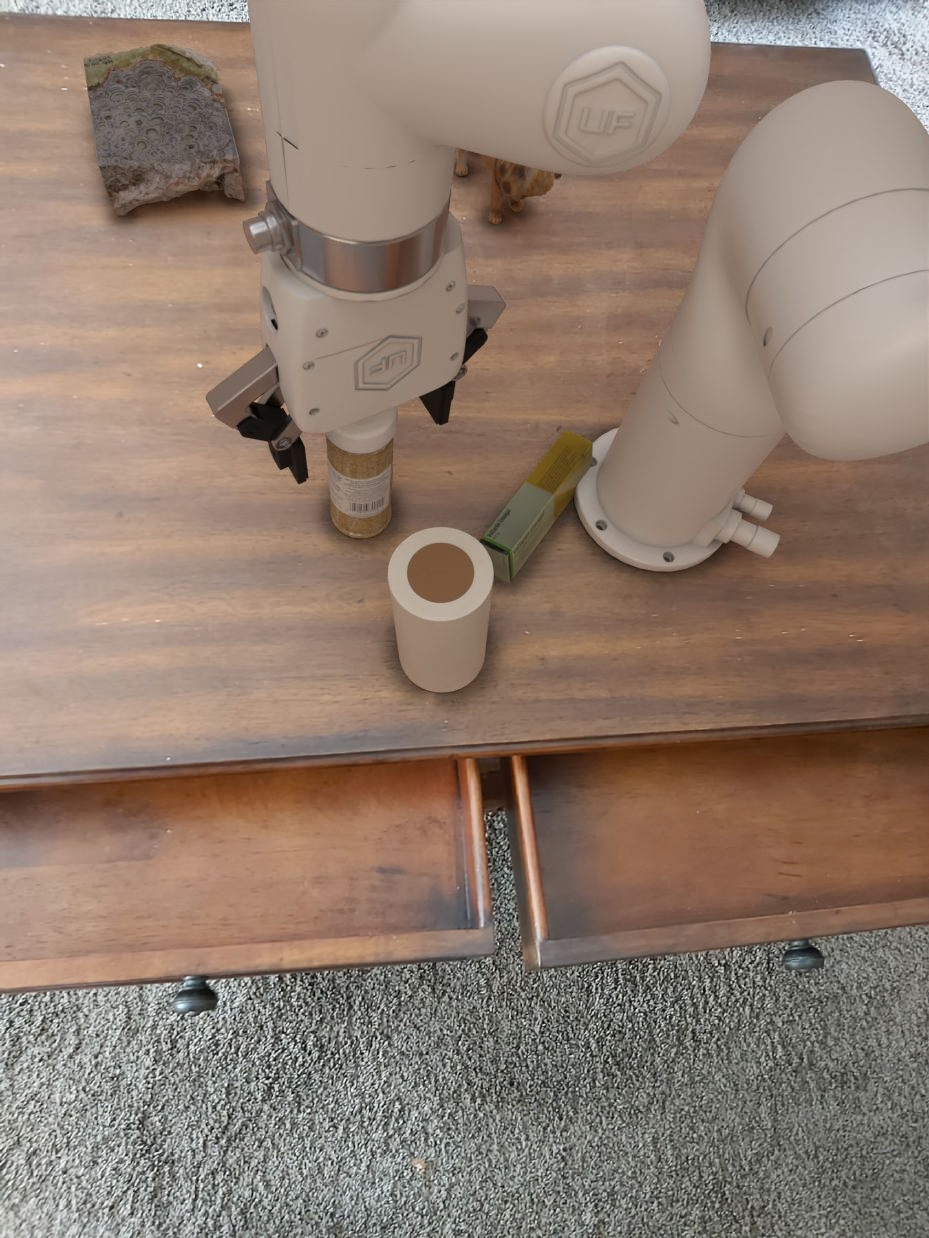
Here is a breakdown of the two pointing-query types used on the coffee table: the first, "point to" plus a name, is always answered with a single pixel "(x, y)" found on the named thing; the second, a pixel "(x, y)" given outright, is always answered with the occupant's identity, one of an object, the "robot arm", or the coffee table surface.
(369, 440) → the sprinkles bottle
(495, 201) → the lion figurine
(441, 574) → the paper towel roll
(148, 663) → the coffee table surface
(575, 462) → the medication box
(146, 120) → the geological specimen
